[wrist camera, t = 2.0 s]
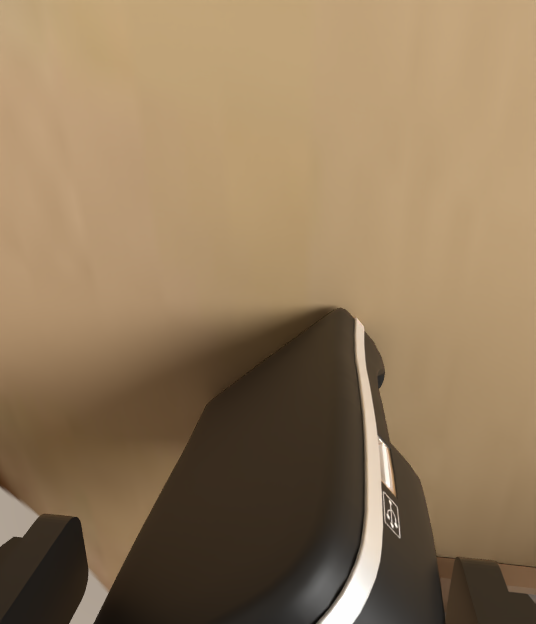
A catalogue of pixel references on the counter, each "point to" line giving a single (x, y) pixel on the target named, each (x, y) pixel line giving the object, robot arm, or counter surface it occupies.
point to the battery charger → (288, 503)
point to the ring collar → (515, 576)
